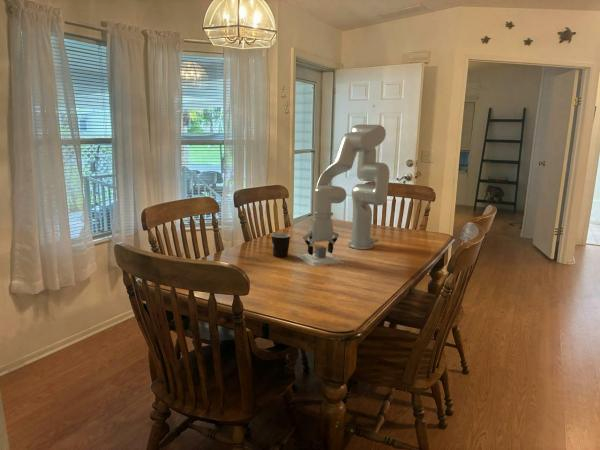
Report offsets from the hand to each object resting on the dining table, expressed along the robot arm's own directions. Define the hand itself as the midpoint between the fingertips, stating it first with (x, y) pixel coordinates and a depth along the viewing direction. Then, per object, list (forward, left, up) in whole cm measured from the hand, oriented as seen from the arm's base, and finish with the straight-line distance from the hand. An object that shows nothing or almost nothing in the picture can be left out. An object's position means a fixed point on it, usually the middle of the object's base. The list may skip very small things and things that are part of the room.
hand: (320, 253), depth 199 cm
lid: (0, 0, -3) cm, 3 cm away
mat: (0, 0, -3) cm, 3 cm away
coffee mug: (+14, -12, -3) cm, 19 cm away
